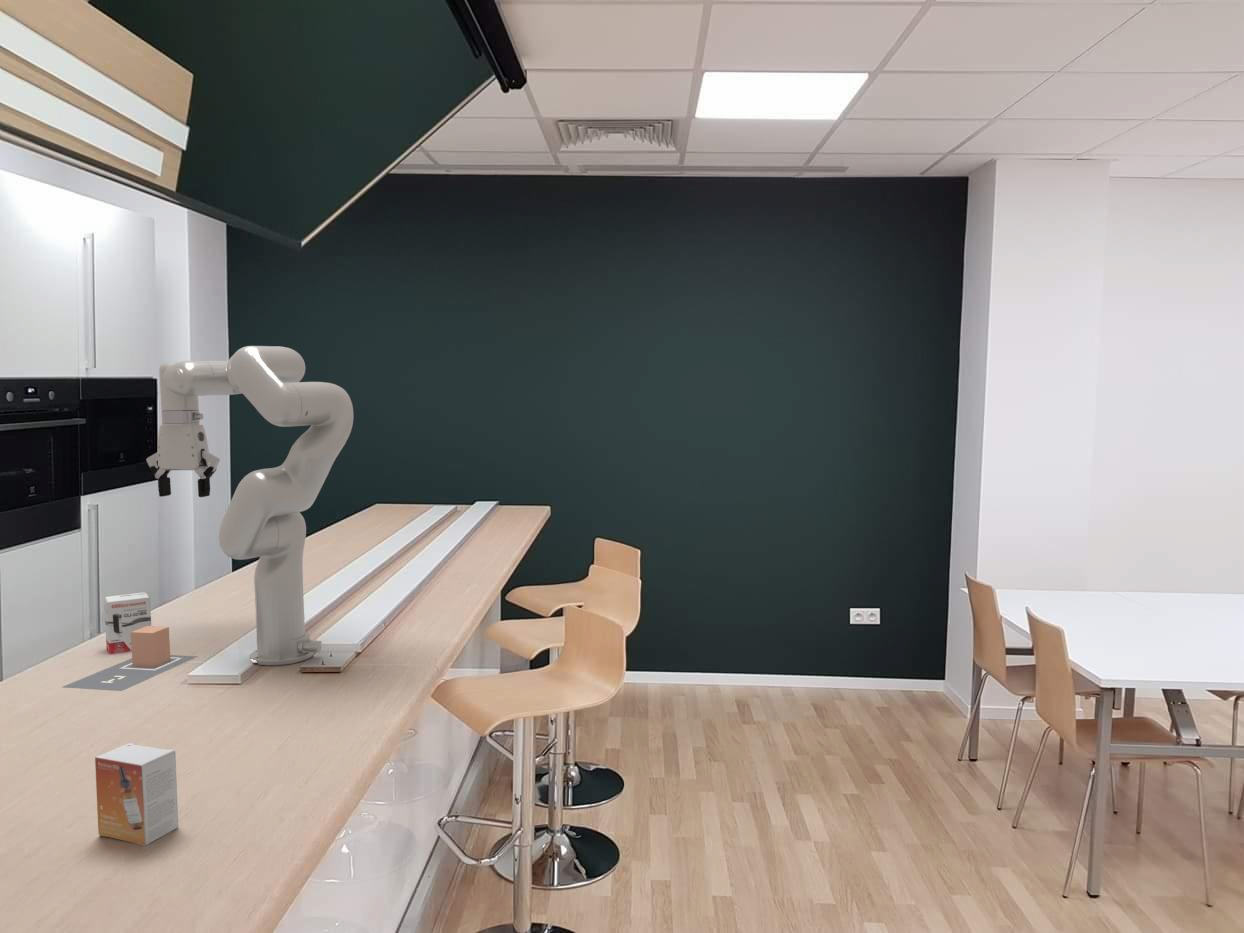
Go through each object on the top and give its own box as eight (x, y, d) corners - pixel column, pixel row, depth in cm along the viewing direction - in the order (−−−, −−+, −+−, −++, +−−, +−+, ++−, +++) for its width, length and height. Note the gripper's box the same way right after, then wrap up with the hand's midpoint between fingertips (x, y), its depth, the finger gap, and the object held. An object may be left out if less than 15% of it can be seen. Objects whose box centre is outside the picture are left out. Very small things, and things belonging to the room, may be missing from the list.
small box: (97, 836, 126) (92, 756, 125) (133, 818, 131) (128, 741, 130) (145, 847, 123) (140, 765, 122) (180, 827, 128) (176, 749, 127)
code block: (170, 660, 204) (168, 626, 203) (154, 667, 199) (152, 633, 199) (149, 659, 205) (147, 625, 204) (132, 666, 200) (130, 632, 200)
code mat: (198, 657, 207) (197, 656, 207) (121, 692, 184) (121, 690, 184) (143, 654, 209) (143, 653, 209) (61, 688, 187) (61, 687, 187)
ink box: (109, 656, 209) (106, 600, 208) (106, 650, 213) (103, 596, 212) (153, 649, 214) (150, 595, 213) (150, 644, 218) (147, 591, 217)
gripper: (226, 417, 219) (229, 494, 220) (156, 418, 222) (161, 493, 224) (205, 419, 212) (209, 498, 213) (134, 419, 215) (138, 497, 217)
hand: (184, 496), depth 219 cm, fingers open, 9 cm apart
